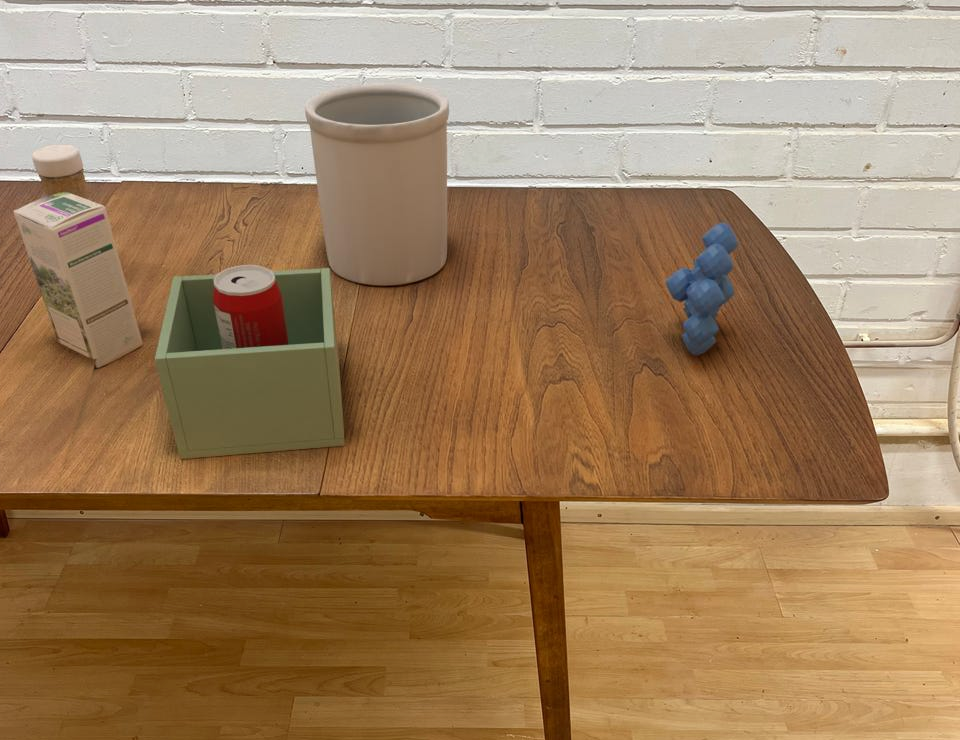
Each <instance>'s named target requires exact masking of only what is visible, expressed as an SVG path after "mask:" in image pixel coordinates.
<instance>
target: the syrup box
mask: <svg viewBox="0 0 960 740" xmlns="http://www.w3.org/2000/svg"><path fill="white" fill-rule="evenodd" d="M12 211H13V216H14V218H15V221H16V224H17V227H18V229H19V233H20V235H21V238H22V241H23V244H24V248H25V251H26V254H27V256H28V260H29V262H30V265H31V268H32V270H33V271H32V272H33V274H34V276H35V279H36V283H37V285H38V287H39V291H40V294H41V296H42V297H41V298H42V300H43V303H44V306H45V308H46V312H47V314H48V318H49V320H50V323H51V325H52V329H53V331H54V335H55V337H56V340H57V343H59V344H61V345H63V346H64V347H67V348H68V349H71V350H72V351H74V352H77V353H79V354H81V355H83V356H85V357H87V358H89V359H91V360H95V362H94V365H93V368H95V369H100V368H102V367H103V366H106V365H108V364H110V363H113V362H114V361H116V360H118V359H120V358H122V357H124V356H126V355H128V354H129V353H131V352H133V351H135V350H136V349H138V348H140V347H142V346H143V344H144V343H143V339H142V336H141V332H140V328H139V326H138V321H137V317H136V314H135V310H134V307H133V303H132V299H131V295H130V291H129V288H128V285H127V281H126V277H125V274H124V271H123V267H122V263H121V259H120V255H119V252H118V248H117V245H116V242H115V237H114V233H113V230H112V227H111V223H110V220H109V217H108V213H107V209H106V206H105V205H103V204H100V203H99V202H98V203H97V202H95V201H92V200H91V201H90V200H87V199H84V198H82V197H79V196H76V195H73V194H71V193H68V192H61V193H57V194H54V195H50V196H47V197H46V196H44V197H42V198H39V199H37V200H34V201H32V202H30V203H28V204H25V205H23V206H21V207H19V208H17V209H14V210H12Z"/></svg>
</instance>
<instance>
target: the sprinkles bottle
mask: <svg viewBox="0 0 960 740" xmlns="http://www.w3.org/2000/svg"><path fill="white" fill-rule="evenodd" d="M31 158H32V162H33V166H34V169H35V173H36V174H38V177H39V179H40V182H41V186H42V188H43V192H44V195H45V197H47V196H50V195H54V194H57V193H61V192H68V193H71V194H73V195H76V196H79V197H82V198H84V199H87V200H90V201H92V198H91V194H90V191H89V187H88V184H87V181H86V176H85V174H84V171H85V170H84V169H85V168H84V162H83V158H82V156H81V152H80V150H79V149H78V148H77V147H76V146H73V145H70V144H69V145H68V144H52V145H48V146H44V147H40V148H38V149H36V150H35V151H33V152H32V155H31Z"/></svg>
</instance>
